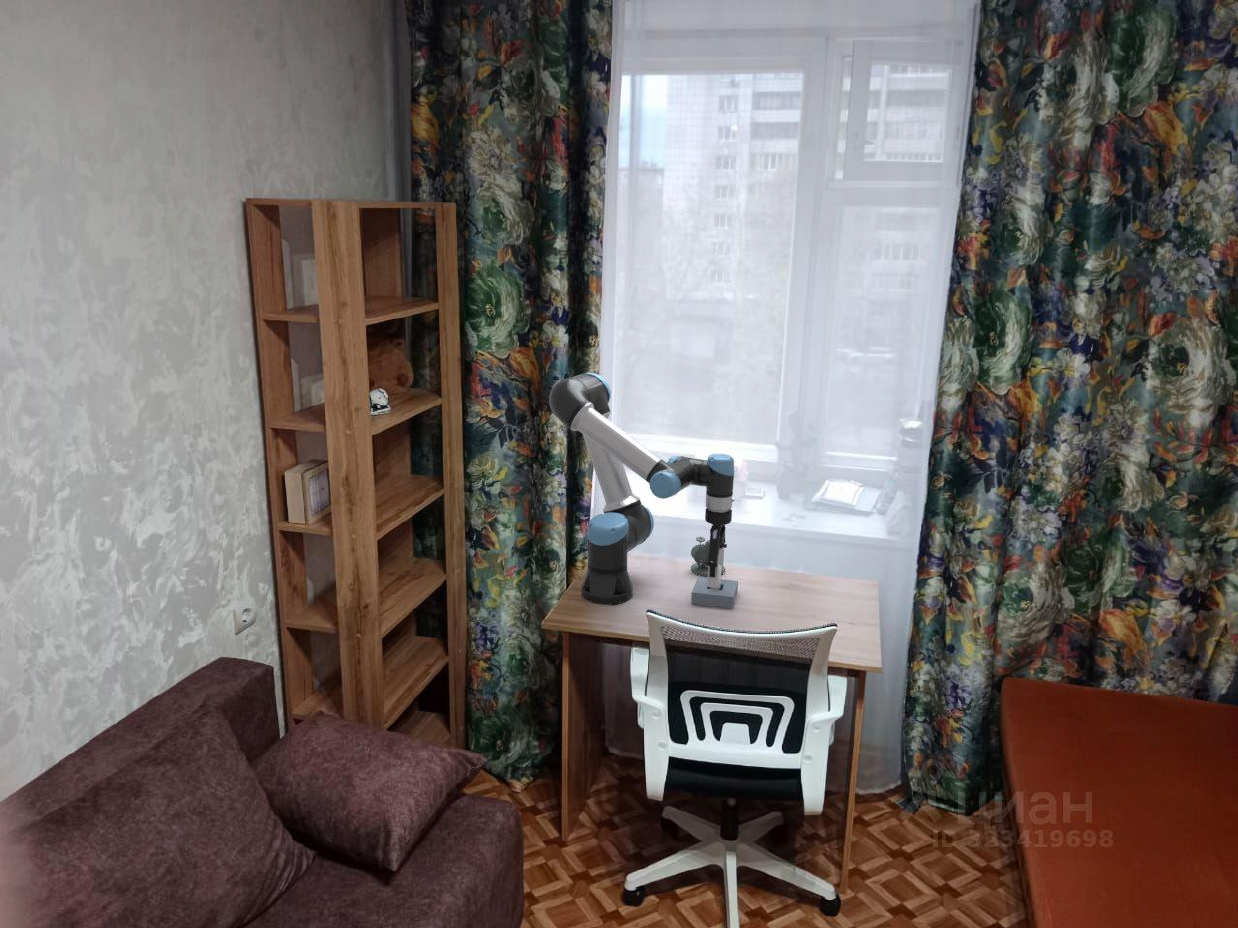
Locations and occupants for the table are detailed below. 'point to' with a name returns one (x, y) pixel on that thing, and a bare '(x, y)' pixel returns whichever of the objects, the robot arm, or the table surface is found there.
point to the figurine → (701, 558)
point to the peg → (718, 579)
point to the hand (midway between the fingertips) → (715, 577)
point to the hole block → (714, 593)
